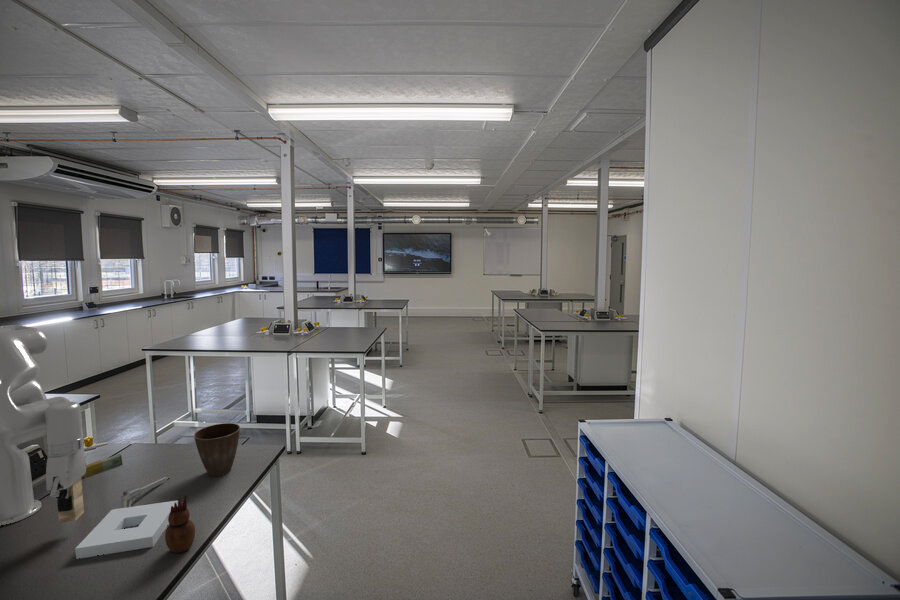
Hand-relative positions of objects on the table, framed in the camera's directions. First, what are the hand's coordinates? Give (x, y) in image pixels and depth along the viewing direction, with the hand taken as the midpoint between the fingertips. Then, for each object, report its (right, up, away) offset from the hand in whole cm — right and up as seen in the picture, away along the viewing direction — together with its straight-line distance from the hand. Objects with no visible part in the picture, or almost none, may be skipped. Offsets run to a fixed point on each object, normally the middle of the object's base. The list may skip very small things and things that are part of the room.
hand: (70, 505), depth 120 cm
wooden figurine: (+37, -9, -7) cm, 39 cm away
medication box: (-22, -6, +38) cm, 44 cm away
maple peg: (0, -4, 0) cm, 4 cm away
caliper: (+7, -7, +21) cm, 23 cm away
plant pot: (+24, -5, +35) cm, 43 cm away
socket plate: (+18, -8, +1) cm, 19 cm away
